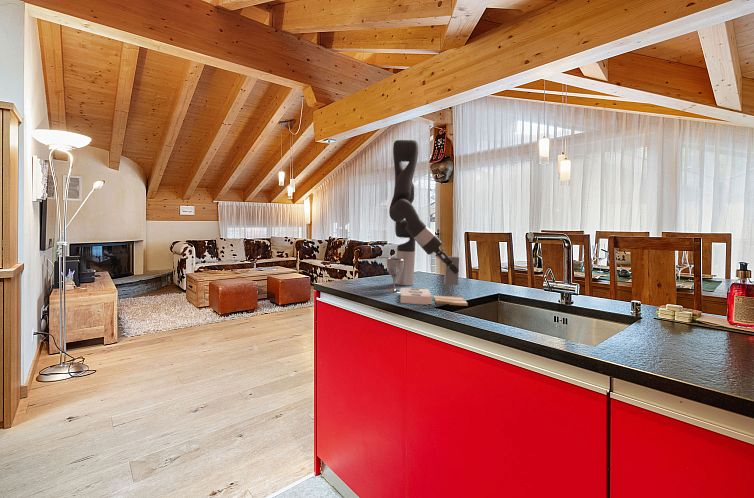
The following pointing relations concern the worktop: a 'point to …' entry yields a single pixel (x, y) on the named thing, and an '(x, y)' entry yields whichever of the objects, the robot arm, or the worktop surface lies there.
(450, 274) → the grey rectangular block
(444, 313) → the worktop surface
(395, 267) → the wine glass
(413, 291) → the pinkish tan rectangular slab
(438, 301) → the rest pad
